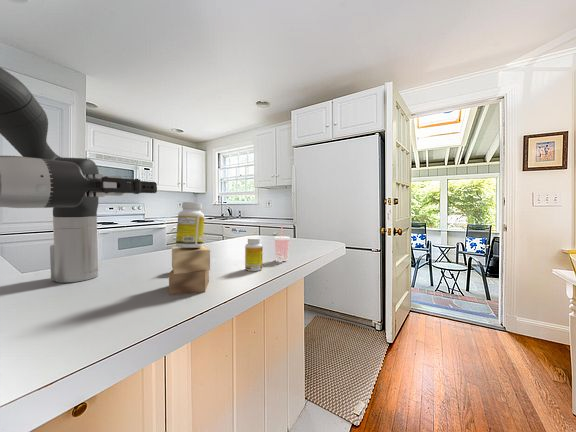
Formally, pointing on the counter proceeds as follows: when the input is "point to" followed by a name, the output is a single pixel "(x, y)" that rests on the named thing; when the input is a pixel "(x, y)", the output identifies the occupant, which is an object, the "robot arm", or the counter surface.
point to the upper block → (190, 259)
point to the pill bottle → (190, 226)
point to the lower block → (188, 282)
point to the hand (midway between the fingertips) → (143, 187)
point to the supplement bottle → (253, 254)
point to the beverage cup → (281, 246)
